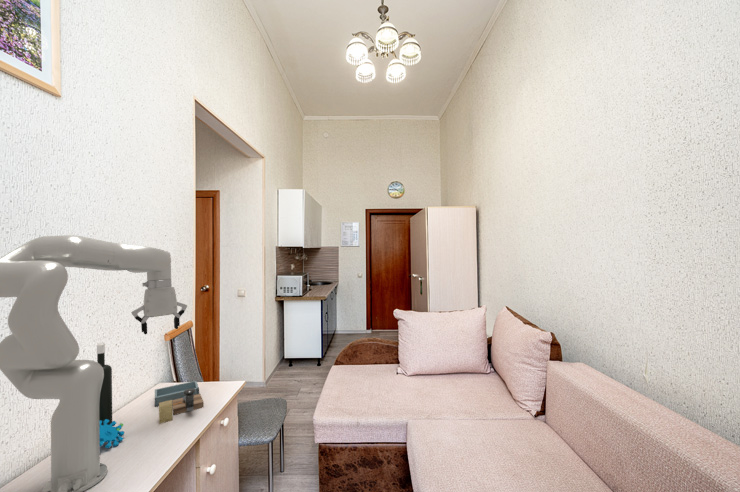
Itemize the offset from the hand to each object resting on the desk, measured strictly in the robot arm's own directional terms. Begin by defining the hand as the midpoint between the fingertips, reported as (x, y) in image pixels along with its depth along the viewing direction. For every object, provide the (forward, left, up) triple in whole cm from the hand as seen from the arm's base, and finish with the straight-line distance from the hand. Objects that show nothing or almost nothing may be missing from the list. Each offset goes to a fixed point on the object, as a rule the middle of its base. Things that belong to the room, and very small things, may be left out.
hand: (161, 330), depth 120 cm
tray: (+19, -5, -32) cm, 37 cm away
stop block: (-2, -1, -32) cm, 32 cm away
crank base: (+6, -8, -32) cm, 33 cm away
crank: (+1, -8, -30) cm, 31 cm away
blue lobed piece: (-9, +15, -32) cm, 36 cm away
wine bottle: (+3, +18, -32) cm, 37 cm away
